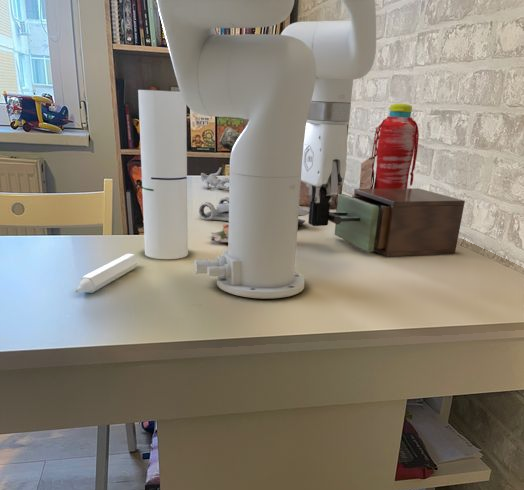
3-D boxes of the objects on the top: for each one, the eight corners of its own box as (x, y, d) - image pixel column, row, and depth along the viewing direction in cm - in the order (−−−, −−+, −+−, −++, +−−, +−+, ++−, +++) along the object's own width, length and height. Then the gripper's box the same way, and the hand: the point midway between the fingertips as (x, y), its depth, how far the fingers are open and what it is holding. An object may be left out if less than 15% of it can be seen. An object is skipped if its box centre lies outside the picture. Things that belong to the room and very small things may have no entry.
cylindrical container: (179, 260, 91) (176, 91, 80) (138, 256, 92) (130, 89, 81) (193, 250, 97) (192, 92, 87) (154, 246, 98) (149, 90, 88)
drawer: (340, 253, 96) (345, 207, 93) (310, 235, 108) (313, 194, 105) (432, 248, 102) (440, 205, 99) (394, 232, 114) (399, 193, 111)
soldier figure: (222, 195, 159) (190, 177, 163) (226, 205, 164) (195, 187, 168) (238, 175, 161) (206, 158, 164) (241, 185, 165) (210, 168, 169)
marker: (75, 304, 72) (130, 270, 86) (87, 298, 71) (140, 265, 86) (64, 286, 71) (121, 255, 86) (76, 279, 71) (132, 249, 85)
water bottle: (347, 226, 123) (360, 101, 112) (356, 220, 129) (369, 102, 119) (402, 232, 118) (421, 104, 108) (409, 226, 125) (427, 104, 115)
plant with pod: (266, 248, 101) (272, 129, 93) (205, 243, 102) (205, 126, 94) (271, 238, 108) (277, 127, 100) (214, 234, 109) (215, 124, 101)
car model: (219, 211, 132) (219, 189, 130) (316, 224, 123) (318, 201, 121) (194, 218, 122) (194, 195, 120) (297, 233, 113) (299, 208, 111)
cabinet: (386, 256, 99) (394, 201, 95) (348, 238, 112) (354, 188, 108) (455, 253, 104) (465, 200, 100) (411, 235, 116) (418, 188, 112)
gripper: (289, 111, 98) (283, 217, 106) (326, 115, 85) (316, 235, 93) (328, 113, 100) (319, 216, 108) (369, 117, 88) (356, 233, 95)
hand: (318, 224), depth 100 cm, fingers closed
